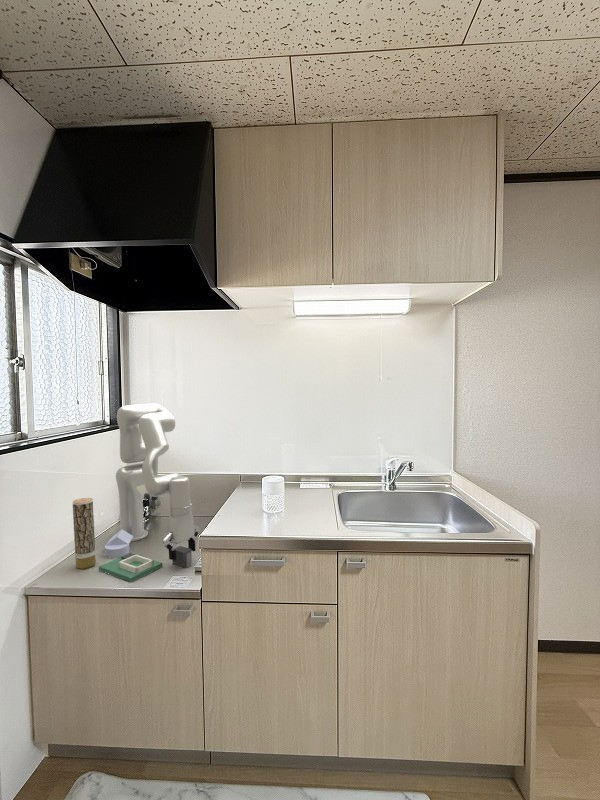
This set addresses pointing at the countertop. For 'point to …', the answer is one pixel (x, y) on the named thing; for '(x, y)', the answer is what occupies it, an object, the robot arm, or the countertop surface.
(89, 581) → the countertop surface
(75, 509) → the bark patterned cylinder
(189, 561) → the plug
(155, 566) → the board
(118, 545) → the wedge on round base
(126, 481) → the robot arm
